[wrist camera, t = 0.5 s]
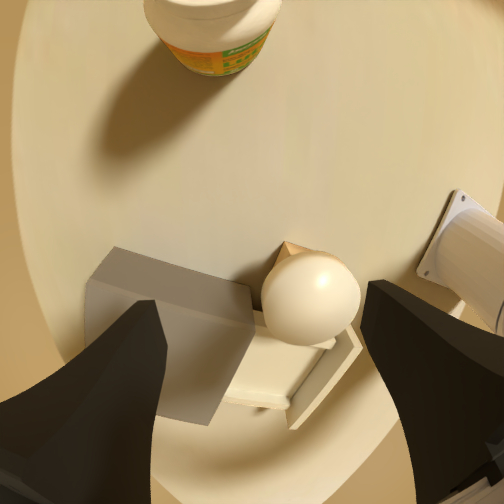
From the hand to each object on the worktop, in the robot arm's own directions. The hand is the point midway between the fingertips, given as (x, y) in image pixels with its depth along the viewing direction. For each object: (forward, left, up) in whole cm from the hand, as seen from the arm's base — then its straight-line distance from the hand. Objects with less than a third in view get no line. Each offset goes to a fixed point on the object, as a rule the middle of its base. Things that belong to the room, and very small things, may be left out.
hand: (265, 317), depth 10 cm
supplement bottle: (+6, -10, -10) cm, 16 cm away
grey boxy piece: (+3, +10, -10) cm, 15 cm away
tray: (-5, +10, -10) cm, 15 cm away
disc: (-4, +2, -7) cm, 8 cm away
